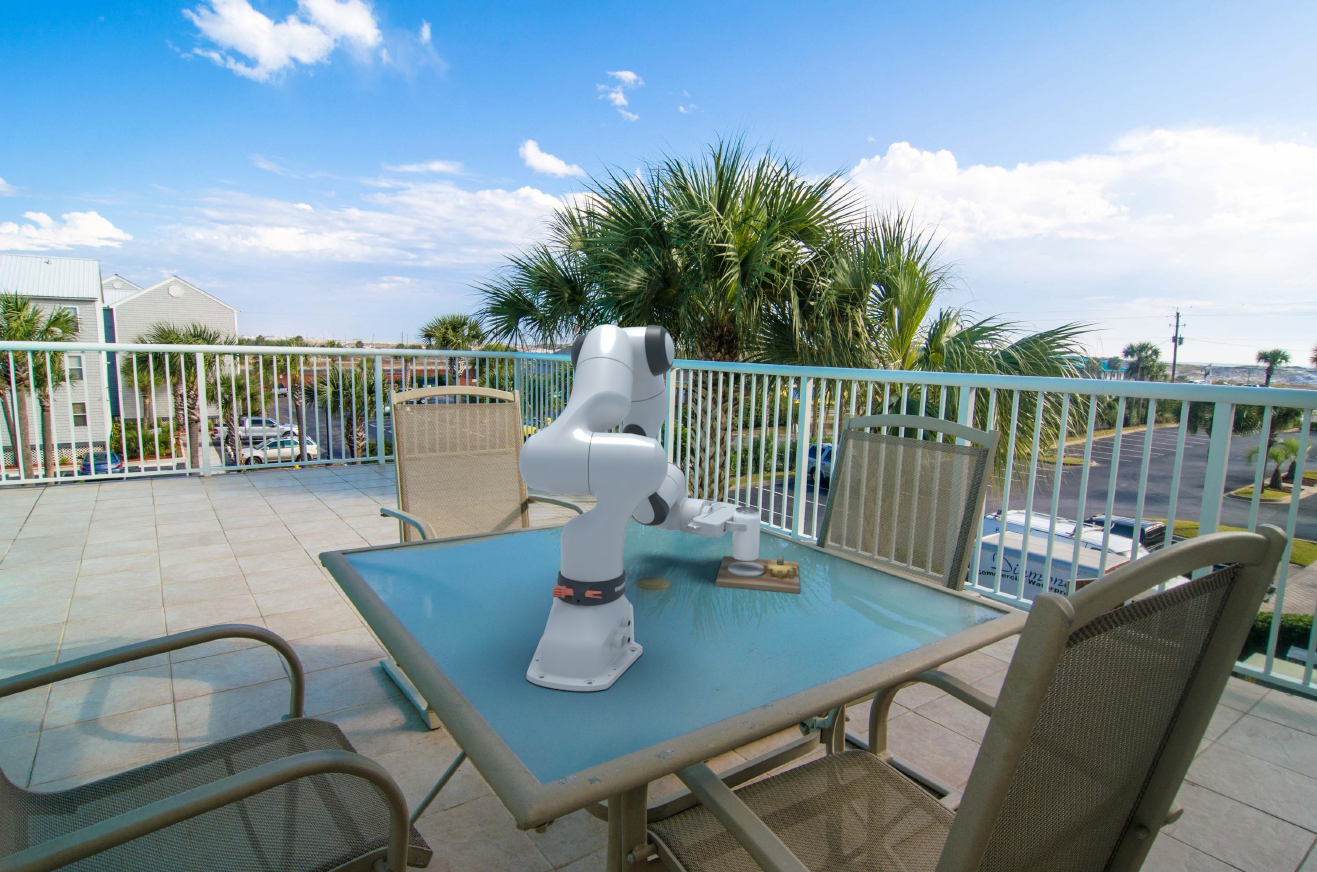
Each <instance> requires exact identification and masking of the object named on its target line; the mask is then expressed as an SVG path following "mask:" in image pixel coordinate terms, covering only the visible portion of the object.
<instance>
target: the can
mask: <svg viewBox="0 0 1317 872" xmlns="http://www.w3.org/2000/svg"><path fill="white" fill-rule="evenodd" d="M759 512H760V509H759V508H756V507H753V506H752V507H751V506H742V507H738V508H736V511H735V513H734V517H733V522H734V523H740V524H746V525H747V530H746V532H742V531H733V532H732V540H731V541H732V543H731V556H732V557H733V558H734V559H736V560H739V561H746V562H750V561H755V560H757V559H759V557H760V556H759V554H760V538H761V535H760V534H761V514H760V513H759Z"/></svg>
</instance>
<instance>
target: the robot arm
mask: <svg viewBox="0 0 1317 872" xmlns="http://www.w3.org/2000/svg"><path fill="white" fill-rule="evenodd" d="M675 351H676V350H675V343H674V341H673V339H672V337H671V334H670V332H669V331H668V330H667V329H666V328H665V327H664V326H661V325H652V324H651V325H650V324H649V325H647V326H630V327H620V326H617V325H614V324H608V323H606V324H600V325H598V326H595V327H593V328H592V329H590V331H589V332H588V333H584V334H582V335H580V336H578V337H577V338H576V339H575V340H574V342H573V343H572V345H571V349H570V358H571V361H570V362H571V364H572V369H573V371H574V373H575V374H574V378H573V384H572V389H571V393H570V397H569V400H568V402H567V404H566V406H565V408H564V409H563V411H562V412H561V414H559V416H557V418H556V419H555V420H554V421H553V422H552V423H550V424H549V425H548V426H546V427H545V428H544V429H542V430H540V431H539V432H536V433H534V434H532V435H531V436H530V437H528V438H527V440H525V442H523V445H522V447H521V449H520V452H519V456H518V470H519V473H520V476H521V479H522V480H523V482H524V483H525V485H527V486H528V488H530V489H533V490H536V491H540V492H544V493H549V494H553V495H573V496H579V495H580V496H591V497H595V498H596V505H595V507H593V508H591V509H589V510H587V511H585V512H582V513H581V514H579V515H577V516H575V517H573V518H572V519H570V520H568V522H567V523H565V525H564V526H563V527H562V530H561V533H560V569H559V570H558V573H557V579H556V584H555V585H554V586H553V590H552V597H553V601H552V602H553V603H552V605H551V608H550V611H549V615H548V619H547V621H546V624H545V628H544V631H543V635H542V636H541V638H540V640H539V642H538V645H537V648H536V649H535V652H534V654H533V657H532V659H531V661H530V664H529V666H528V669H527V672H526V677H525V679H526V680H527V681H529V682H530V683H532V684H535V685H538V686H542V687H545V688H551V689H557V690H562V691H564V690H565V691H571V692H595V691H602V690H607V689H609V688H610V687H611V686H612V685H614V683H615V682H616V681H617V680H618V679H619V678H620V677H621V676H622V675H623V674H624V673H625V672H626V671H627V669H628V668H629V667H630V666H632V664H633V663H634V662H635V661H636V660H637V659H638V658H639V657H640V656H641V655H642V654H643V646H642V645H641V644H639V643H638V642H636V641H635V627H634V626H635V624H634V622H635V621H634V606H633V605H632V603H631V602H630V601H629V600H628V599H627V597H626V595H625V592H626V584H627V578H626V571H625V569H624V554H625V553H624V552H625V542H626V534H627V529H628V527H629V524H630V521H631V519H632V518H633V519H634V521H636V522H637V523H638V524H641V525H643V526H648V527H651V528H654V529H659V530H664V531H679V532H681V533H684V534H689V535H697V536H702V537H706V538H707V537H708V538H711V539H718V538H721V537H722V536H724V535H725V534H726V533H728V532H732V533H733V531H742V532H746V530H747V525H746V524H740V523H734V522H733V517H734V513H735V511H736V508H738V507H743V505H739V504H735V503H729V502H725V501H718V500H717V499H715V498H705V499H703V498H694V497H693V498H690V497H686V495H685V493H686V485H687V483H686V481H687V479H686V475H685V473H684V471H683V470H682V468H680V467H679V466H678V465H677V464H675V463H672V462H669V461H668V456H667V454H666V451H665V449H664V447H663V446H662V444H661V443H660V442H659V441H658V440H657V437H658V434H659V433H660V430H661V428H662V426H663V424H664V422H665V420H666V419H667V416H668V411H669V410H668V408H669V402H668V401H669V398H668V391H667V388H666V383H665V379H664V374H665V373H667V372H669V370H670V369H671V368H672V367H673V364H674V360H675ZM621 423H622V432H608V431H609V430H611V429H613V428H615V427H618V426H619V425H620V424H621ZM606 431H607V432H606Z"/></svg>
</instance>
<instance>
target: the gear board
mask: <svg viewBox="0 0 1317 872" xmlns="http://www.w3.org/2000/svg"><path fill="white" fill-rule="evenodd" d="M784 559H785V556H784V555H781V554H778V555H776V559H768V558H758V559H757V560H755V561H750V562H746V561H739V560H736V559H734V558H733V557H732V555H723V557H722V560H721V564H720V566H719V570H718V573H717V576H716V580H715V587H721V588H722V587H723V588H734V589H735V588H736V589H745V590H747V589H748V590H756V591H757V590H758V591H766V592H767V591H768V592H779V593H780V592H781V593H788V594H791V593H792V594H800V592H801V591H800V590H801V588H800V587H801V586H800V573H799V561H793V560H784Z"/></svg>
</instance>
